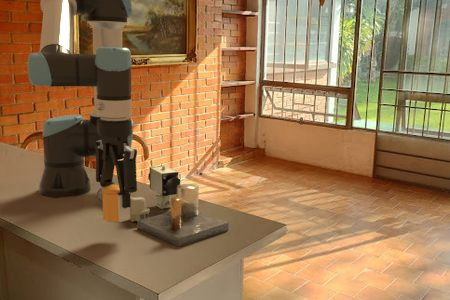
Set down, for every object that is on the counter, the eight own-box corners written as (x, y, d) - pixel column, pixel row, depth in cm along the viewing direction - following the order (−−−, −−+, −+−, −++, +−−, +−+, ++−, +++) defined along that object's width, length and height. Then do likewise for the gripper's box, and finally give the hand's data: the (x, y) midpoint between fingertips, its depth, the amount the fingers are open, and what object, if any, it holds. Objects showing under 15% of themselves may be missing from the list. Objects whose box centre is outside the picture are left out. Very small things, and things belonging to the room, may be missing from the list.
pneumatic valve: (165, 214, 134) (165, 171, 131) (147, 202, 143) (147, 162, 141) (183, 211, 137) (183, 169, 134) (164, 200, 146) (164, 160, 144)
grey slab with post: (137, 228, 123) (137, 192, 121) (186, 214, 134) (186, 181, 132) (179, 246, 112) (179, 207, 110) (228, 229, 123) (229, 194, 121)
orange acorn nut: (99, 217, 114) (98, 187, 113) (119, 211, 118) (119, 183, 117) (112, 223, 111) (112, 193, 109) (133, 218, 114) (133, 188, 113)
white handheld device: (110, 185, 147) (152, 194, 127) (112, 207, 147) (154, 219, 127) (93, 188, 143) (134, 197, 124) (95, 210, 144) (136, 223, 124)
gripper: (77, 114, 113) (81, 209, 118) (124, 125, 100) (125, 232, 105) (106, 111, 118) (108, 203, 123) (153, 122, 106) (153, 223, 111)
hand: (116, 216), depth 114 cm, fingers closed on orange acorn nut, 6 cm apart
